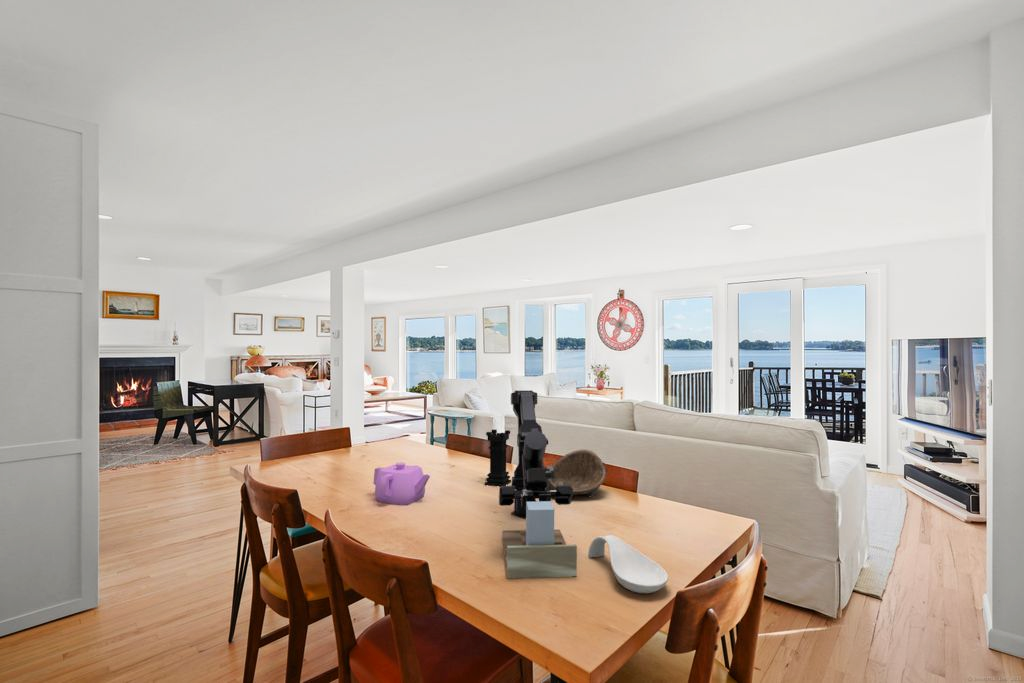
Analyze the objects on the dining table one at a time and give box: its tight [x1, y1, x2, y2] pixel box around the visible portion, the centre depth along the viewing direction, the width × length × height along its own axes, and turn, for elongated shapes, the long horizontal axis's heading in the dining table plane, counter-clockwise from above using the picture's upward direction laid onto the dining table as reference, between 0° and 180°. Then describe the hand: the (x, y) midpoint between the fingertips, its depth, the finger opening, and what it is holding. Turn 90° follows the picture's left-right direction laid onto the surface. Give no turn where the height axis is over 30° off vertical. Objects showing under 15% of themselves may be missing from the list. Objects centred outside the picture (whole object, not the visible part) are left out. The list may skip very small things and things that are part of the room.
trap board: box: [501, 529, 578, 579], centre depth 126 cm, size 24×16×7 cm, turn 4°
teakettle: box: [373, 462, 431, 506], centre depth 173 cm, size 17×17×12 cm
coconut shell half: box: [546, 449, 609, 497], centre depth 180 cm, size 15×16×25 cm
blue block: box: [525, 500, 555, 546], centre depth 119 cm, size 6×6×13 cm
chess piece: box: [484, 429, 512, 488], centre depth 192 cm, size 8×8×20 cm
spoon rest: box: [587, 534, 669, 594], centre depth 116 cm, size 24×12×7 cm, turn 25°
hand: (538, 527), depth 123 cm, fingers closed, pressing on blue block
